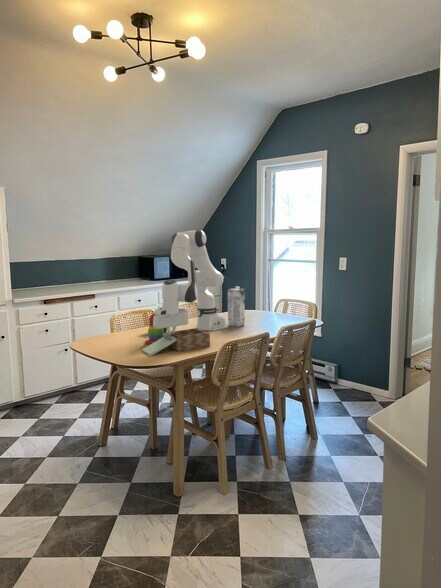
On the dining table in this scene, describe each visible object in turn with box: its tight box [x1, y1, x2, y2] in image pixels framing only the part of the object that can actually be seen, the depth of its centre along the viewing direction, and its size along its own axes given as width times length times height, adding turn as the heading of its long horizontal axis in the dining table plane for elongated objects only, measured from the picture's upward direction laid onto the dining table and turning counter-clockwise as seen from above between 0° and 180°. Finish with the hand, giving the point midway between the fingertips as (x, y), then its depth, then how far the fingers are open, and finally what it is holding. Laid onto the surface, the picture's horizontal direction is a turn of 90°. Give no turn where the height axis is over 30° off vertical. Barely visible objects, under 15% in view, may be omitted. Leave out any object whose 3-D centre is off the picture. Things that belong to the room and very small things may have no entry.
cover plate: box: [141, 332, 177, 357], centre depth 236 cm, size 17×11×4 cm, turn 122°
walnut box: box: [166, 327, 211, 353], centre depth 246 cm, size 20×14×8 cm
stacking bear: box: [144, 313, 164, 346], centre depth 254 cm, size 11×10×18 cm
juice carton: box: [227, 286, 246, 328], centre depth 297 cm, size 9×10×27 cm
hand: (171, 334), depth 239 cm, fingers closed
